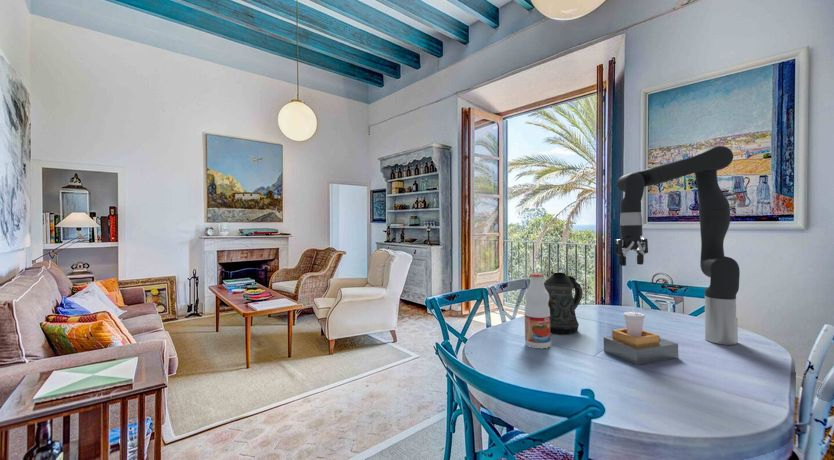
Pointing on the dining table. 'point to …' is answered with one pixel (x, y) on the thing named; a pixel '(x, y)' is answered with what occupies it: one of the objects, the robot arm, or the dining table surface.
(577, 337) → the dining table surface
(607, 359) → the dining table surface
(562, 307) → the beer stein
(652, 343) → the grey flat boxy piece
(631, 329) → the smoothie
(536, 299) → the fruit juice
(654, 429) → the dining table surface
